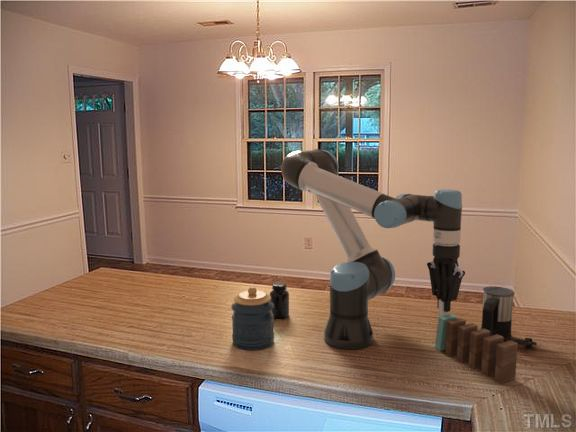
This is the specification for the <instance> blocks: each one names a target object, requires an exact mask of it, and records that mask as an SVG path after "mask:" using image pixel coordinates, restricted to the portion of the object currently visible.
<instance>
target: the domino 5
mask: <svg viewBox="0 0 576 432" xmlns="http://www.w3.org/2000/svg"><path fill="white" fill-rule="evenodd" d="M503 340H504V337H503V336H500V335H498V334H496V335H493V336H489V337H485V338H483V353H482V368H481V375H483V376H484V377H487V378H488V377H491V376H495V367H496V353H497V344H500V343H504V341H503Z"/></svg>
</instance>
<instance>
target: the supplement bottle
mask: <svg viewBox="0 0 576 432" xmlns="http://www.w3.org/2000/svg"><path fill="white" fill-rule="evenodd" d="M271 289H272V290H271V291H270V292H269V295H270V296H271V300H270V301H271V302H273V304H274V307H273V309H272V312H273V314H274V320H276V319H282V320H286V319H288V318H289V316H290V293H289V291H288V290H287V283H286V282H284V281H276V282H273V283H272V287H271ZM287 317H288V318H287ZM285 318H286V319H285Z"/></svg>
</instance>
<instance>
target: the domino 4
mask: <svg viewBox="0 0 576 432" xmlns="http://www.w3.org/2000/svg"><path fill="white" fill-rule="evenodd" d="M489 336H490V331H489V330H487V329H481V328H480V329H478V330H477V331H473V332H471V335H470V352H469V361H468V367H469V368H471V369H472V370H478V369H480V368H481V369H482V353H483V338H485V337H489Z"/></svg>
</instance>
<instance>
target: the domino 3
mask: <svg viewBox="0 0 576 432" xmlns="http://www.w3.org/2000/svg"><path fill="white" fill-rule="evenodd" d="M477 330H479V325H477V324H475V323H473V322H471V323H466V325H463V326H459V328H458V347H457V355H456V361H458V362H460V363H462V364H463V363H467V362H469V352H470V335H471V332H473V331H477Z"/></svg>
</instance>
